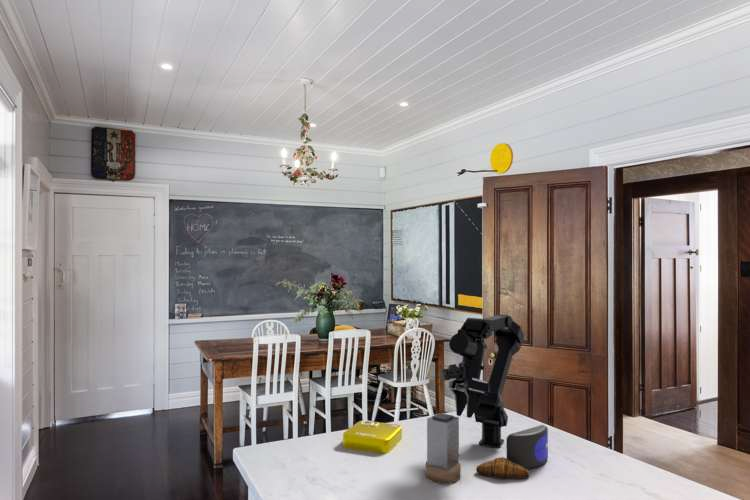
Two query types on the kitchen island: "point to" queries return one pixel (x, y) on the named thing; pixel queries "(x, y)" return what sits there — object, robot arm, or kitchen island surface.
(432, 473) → the walnut stand
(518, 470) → the croissant
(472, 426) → the kitchen island surface
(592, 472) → the kitchen island surface
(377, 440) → the element tile
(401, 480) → the kitchen island surface
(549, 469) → the kitchen island surface
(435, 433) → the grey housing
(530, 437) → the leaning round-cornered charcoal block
